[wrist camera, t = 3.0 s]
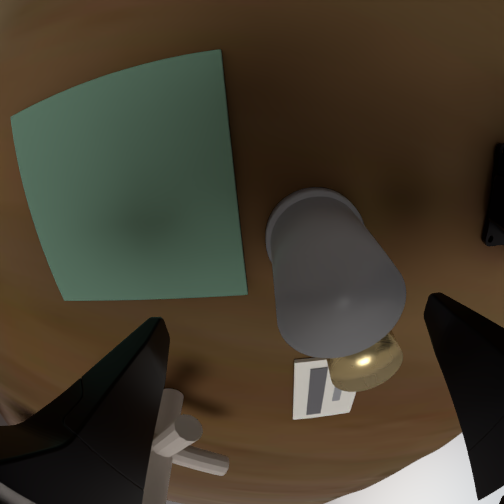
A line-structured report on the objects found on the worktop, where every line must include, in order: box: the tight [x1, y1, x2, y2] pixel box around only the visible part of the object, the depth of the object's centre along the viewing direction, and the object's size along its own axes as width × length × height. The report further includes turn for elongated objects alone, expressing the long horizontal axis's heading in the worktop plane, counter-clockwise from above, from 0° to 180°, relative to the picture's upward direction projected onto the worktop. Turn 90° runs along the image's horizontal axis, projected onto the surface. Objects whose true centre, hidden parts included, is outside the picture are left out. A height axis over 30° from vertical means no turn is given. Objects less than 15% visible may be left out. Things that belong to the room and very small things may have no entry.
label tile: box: [293, 357, 356, 420], centre depth 20 cm, size 5×8×1 cm, turn 5°
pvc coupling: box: [266, 187, 406, 358], centre depth 12 cm, size 5×5×6 cm
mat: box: [11, 49, 248, 301], centre depth 13 cm, size 12×12×1 cm
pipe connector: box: [142, 388, 229, 504], centre depth 16 cm, size 10×10×10 cm
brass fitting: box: [326, 330, 403, 392], centre depth 15 cm, size 4×4×4 cm
